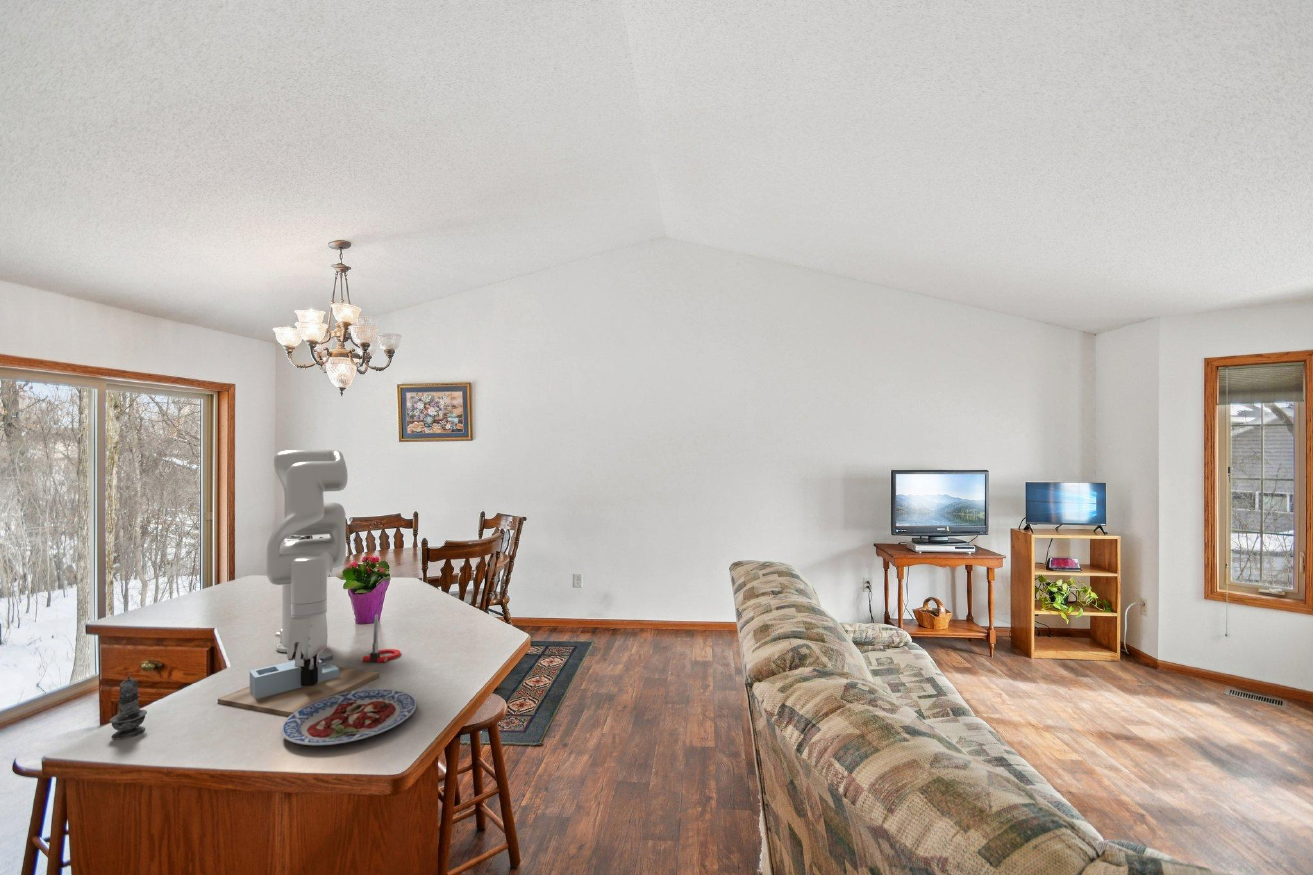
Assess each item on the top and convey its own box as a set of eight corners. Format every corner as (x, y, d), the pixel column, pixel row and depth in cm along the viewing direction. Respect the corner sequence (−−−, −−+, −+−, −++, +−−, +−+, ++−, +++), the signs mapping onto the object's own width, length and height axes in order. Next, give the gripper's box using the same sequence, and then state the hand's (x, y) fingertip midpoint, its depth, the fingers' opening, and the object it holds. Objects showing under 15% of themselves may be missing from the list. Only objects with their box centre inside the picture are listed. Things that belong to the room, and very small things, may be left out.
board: (217, 703, 137) (217, 698, 137) (308, 666, 160) (308, 662, 160) (294, 717, 129) (294, 712, 129) (378, 676, 152) (378, 672, 152)
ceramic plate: (328, 697, 140) (328, 685, 140) (435, 698, 139) (435, 685, 139) (249, 754, 114) (249, 739, 114) (380, 755, 113) (380, 740, 114)
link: (332, 671, 154) (332, 651, 154) (339, 677, 149) (339, 657, 149) (249, 691, 141) (249, 670, 141) (255, 699, 137) (255, 677, 137)
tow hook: (379, 652, 172) (359, 662, 163) (381, 607, 173) (360, 614, 164) (406, 653, 171) (387, 663, 162) (407, 608, 172) (388, 615, 162)
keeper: (294, 670, 154) (294, 654, 154) (304, 666, 157) (304, 650, 157) (323, 675, 151) (323, 658, 151) (333, 670, 154) (333, 654, 154)
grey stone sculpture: (124, 727, 126) (125, 670, 126) (154, 725, 126) (154, 669, 126) (101, 740, 120) (101, 681, 120) (132, 739, 120) (132, 680, 121)
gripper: (309, 601, 150) (309, 673, 150) (275, 617, 135) (275, 698, 135) (339, 600, 151) (340, 672, 150) (308, 616, 136) (308, 696, 135)
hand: (309, 684), depth 142 cm, fingers closed
